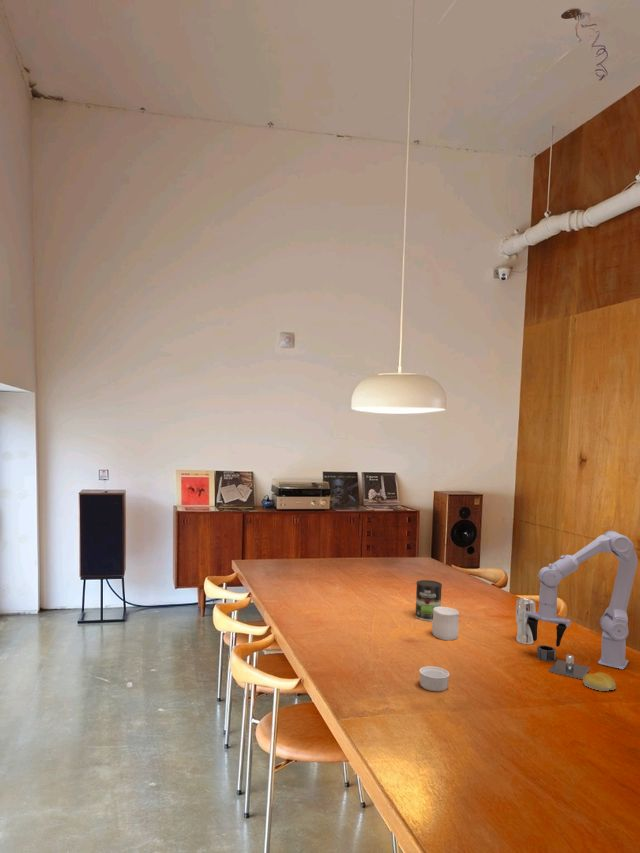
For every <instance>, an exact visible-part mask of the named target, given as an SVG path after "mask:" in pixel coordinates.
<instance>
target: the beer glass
mask: <svg viewBox="0 0 640 853" xmlns="http://www.w3.org/2000/svg"><path fill="white" fill-rule="evenodd" d="M515 604H516V605H515V606H516V607H515V620H516V627H517V631H516V632H517V634H516V637H515V640H516V642H517V643H519V644H523V645H533V644H534V642H535V641H533V636H532V632H531V629H530V627H529V625H528V622H527V620H528V618H525V612H526V611H530V612H537V611H536V610H537V608H536V606H537V605H536V601H535V600H533V599H530V598H525V597H524V598H517V599H516V603H515Z"/></svg>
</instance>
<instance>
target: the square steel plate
mask: <svg viewBox="0 0 640 853" xmlns="http://www.w3.org/2000/svg"><path fill="white" fill-rule="evenodd" d="M590 670H591V667H590V666H586V665H582V664H577V663H575V655H573V654H566V655H565V660H561V659H557V660H555V661H554V663H553V664H552V665H551V666H550V668H549V669H548V673H552V672H553V674H556V673H557V675H560V674H562V675H561V676H564V675H566V676H565V677H568V676H570V677H569V678H572V677H574V678H573V679H576V678H578V679H577V680H579V679H583V677H584V676H585V675H586V674H588V673H589V671H590ZM587 672H588V673H587Z"/></svg>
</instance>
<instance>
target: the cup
mask: <svg viewBox="0 0 640 853" xmlns="http://www.w3.org/2000/svg"><path fill="white" fill-rule="evenodd" d="M459 617H460V611H459V610H457V609H455V608H453V607H447V606H441V607H440V606H439V607H434V608H433V621H432V623H431V624H432V626H431V633H432V636H434V637H435V638H436V637H437V638H436V639H438V638H439V639H438V640H441V639H442V641H454V640H457V638H458V637H459Z"/></svg>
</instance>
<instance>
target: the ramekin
mask: <svg viewBox="0 0 640 853" xmlns="http://www.w3.org/2000/svg"><path fill="white" fill-rule="evenodd" d="M418 672H419V683H420V684H419V685H420V686H421V687H422V688H423V689H425V690H427V691H432V692H443V691H445V690H447V688H448V684H449V677H450V672H449V670H446V669H444V668H442V667H438V666H429V665H428V666H423V667H421V668H419V671H418Z"/></svg>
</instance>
